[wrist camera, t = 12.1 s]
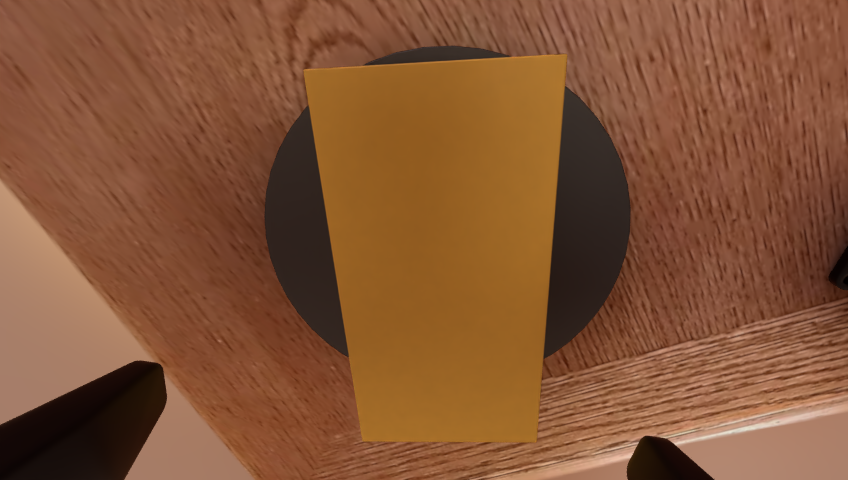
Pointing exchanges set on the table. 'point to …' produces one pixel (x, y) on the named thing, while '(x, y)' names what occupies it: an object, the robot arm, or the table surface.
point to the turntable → (572, 236)
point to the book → (442, 238)
